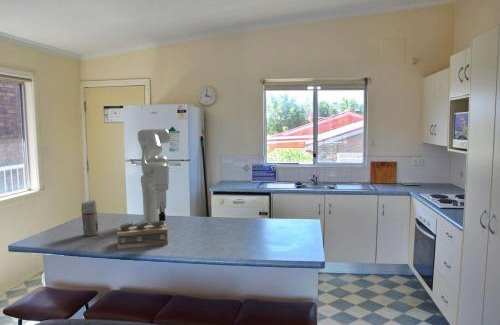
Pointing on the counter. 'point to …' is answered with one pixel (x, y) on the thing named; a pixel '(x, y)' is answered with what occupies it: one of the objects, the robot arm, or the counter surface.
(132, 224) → the rocker left
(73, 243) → the counter surface
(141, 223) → the rocker middle
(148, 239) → the switch unit
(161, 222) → the rocker right
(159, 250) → the counter surface
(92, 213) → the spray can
